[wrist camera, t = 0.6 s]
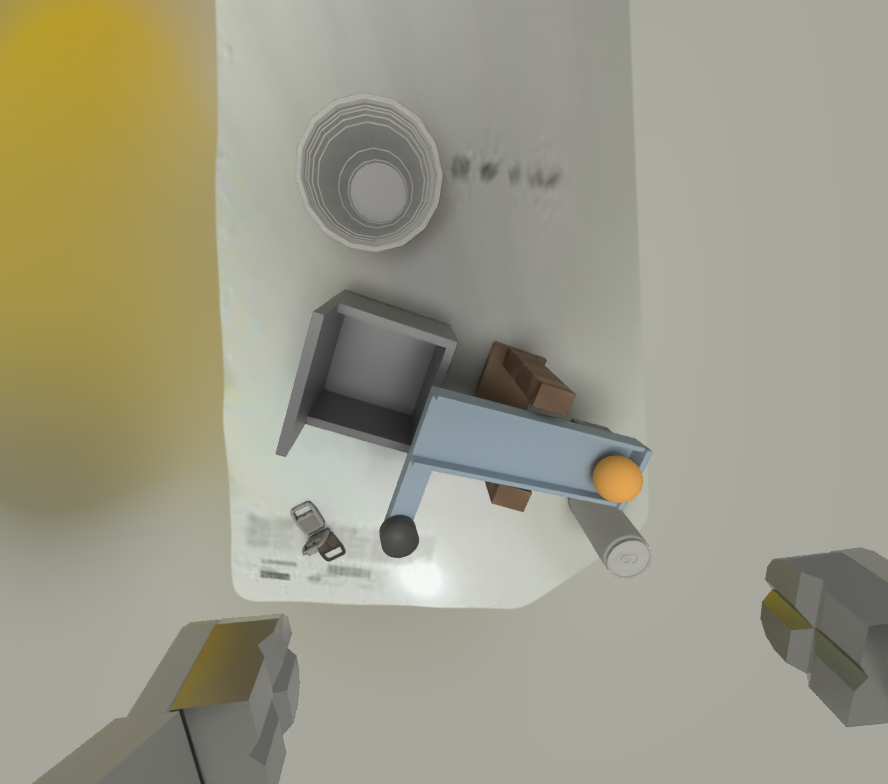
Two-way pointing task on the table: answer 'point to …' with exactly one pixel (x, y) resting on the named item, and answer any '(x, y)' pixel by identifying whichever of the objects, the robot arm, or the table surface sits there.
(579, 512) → the beverage can
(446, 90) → the table surface
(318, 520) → the grey hinged case
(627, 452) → the lever
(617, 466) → the ball
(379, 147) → the plastic cup
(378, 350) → the bin
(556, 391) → the stand
